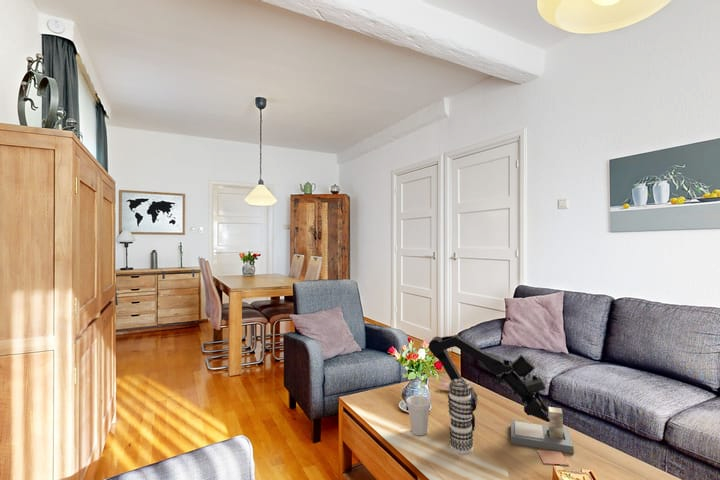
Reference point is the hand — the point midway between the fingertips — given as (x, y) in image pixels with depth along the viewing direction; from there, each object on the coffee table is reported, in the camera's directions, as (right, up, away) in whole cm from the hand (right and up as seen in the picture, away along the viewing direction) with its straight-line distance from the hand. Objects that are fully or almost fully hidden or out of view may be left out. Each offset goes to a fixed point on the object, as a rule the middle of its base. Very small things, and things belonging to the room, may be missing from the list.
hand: (548, 415), depth 144 cm
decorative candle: (-34, -10, -3) cm, 36 cm away
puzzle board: (-3, -9, +1) cm, 10 cm away
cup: (-49, -11, +8) cm, 50 cm away
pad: (-4, -9, -12) cm, 16 cm away
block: (+3, -9, -1) cm, 10 cm away
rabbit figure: (-24, -10, +48) cm, 54 cm away
